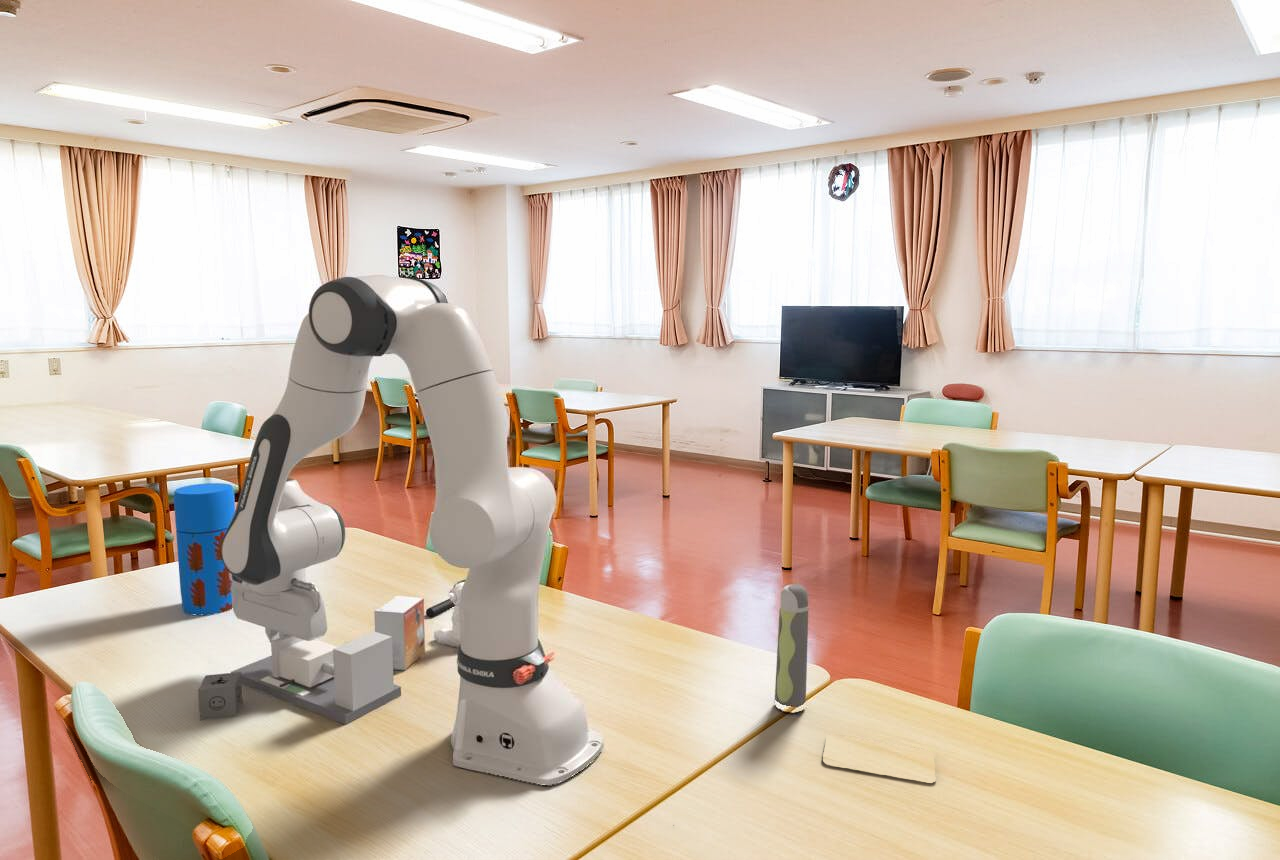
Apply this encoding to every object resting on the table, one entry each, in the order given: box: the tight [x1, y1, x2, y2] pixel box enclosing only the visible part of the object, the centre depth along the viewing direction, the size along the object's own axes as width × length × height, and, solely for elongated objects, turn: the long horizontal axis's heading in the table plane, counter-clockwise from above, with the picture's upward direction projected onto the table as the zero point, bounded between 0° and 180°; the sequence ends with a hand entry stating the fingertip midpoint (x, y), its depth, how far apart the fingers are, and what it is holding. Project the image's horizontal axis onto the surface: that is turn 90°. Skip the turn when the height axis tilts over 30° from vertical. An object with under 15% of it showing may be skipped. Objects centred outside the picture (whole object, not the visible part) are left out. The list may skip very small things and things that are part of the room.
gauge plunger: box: [270, 635, 338, 687], centre depth 133 cm, size 12×9×6 cm
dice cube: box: [197, 672, 243, 721], centre depth 126 cm, size 5×5×5 cm
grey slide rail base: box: [230, 631, 402, 725], centre depth 133 cm, size 28×11×10 cm, turn 60°
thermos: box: [173, 482, 236, 616], centre depth 168 cm, size 11×11×25 cm
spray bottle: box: [774, 583, 809, 707], centre depth 128 cm, size 5×5×20 cm
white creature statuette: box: [433, 582, 464, 649], centre depth 152 cm, size 10×9×12 cm
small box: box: [373, 595, 426, 671], centre depth 144 cm, size 8×6×10 cm
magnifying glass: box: [425, 578, 466, 619], centre depth 176 cm, size 12×24×2 cm, turn 155°
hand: (281, 653), depth 138 cm, fingers closed
